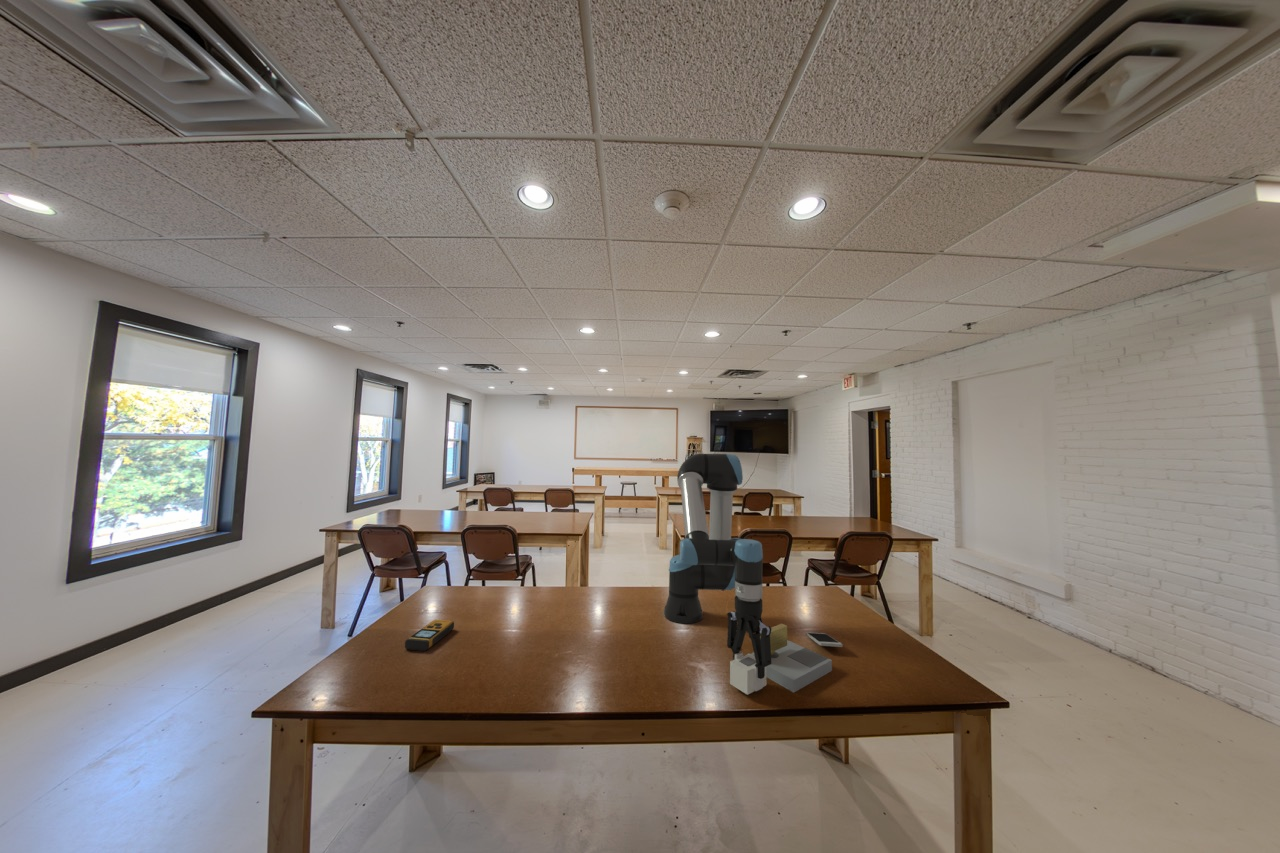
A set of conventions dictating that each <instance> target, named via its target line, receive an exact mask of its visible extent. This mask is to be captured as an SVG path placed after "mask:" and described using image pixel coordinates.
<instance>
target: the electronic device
mask: <svg viewBox="0 0 1280 853" xmlns="http://www.w3.org/2000/svg"><path fill="white" fill-rule="evenodd" d="M454 629H455V621H453V620H443V619H434V620H431V621H430V622H429V623H428V624H427V625H424V626H423V627H422V628H420V630H418V631H417V632H415V633H414V634H412V635H411V636H410V637H409V638H407V639H406V640H405V641H404V648H405V649H406V650H408V651H409V650H410V651H411V650H412V651H420V652H421V651H422V652H426V651H428V650H429V649H430V648H431V647H432V646H434V645H436V644H437V643H438V642H439V641H441V639H442V638H444V637H445V636H447V635H448V634H449V633H450V632H451V631H453V630H454Z"/></svg>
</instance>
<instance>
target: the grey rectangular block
mask: <svg viewBox="0 0 1280 853" xmlns="http://www.w3.org/2000/svg"><path fill="white" fill-rule="evenodd" d="M754 664H756V660H755V656H753V655H751V653H747V654H745V655H744V654H743V656H742V657H740V658H737V659H735V660H733V659H732V660H730V661H729V684H730V685H731V686H732V687H734V688H736V689H738V690H739V691H741V692H742V693H744V694H745V695H747V696H748V695H750V694H753V693H754V692H756V691H755V690H754ZM766 686H767V677H766V667H765V676H764V678H763V688H764V687H766Z"/></svg>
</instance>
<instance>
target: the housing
mask: <svg viewBox="0 0 1280 853" xmlns="http://www.w3.org/2000/svg"><path fill="white" fill-rule="evenodd" d="M750 654H751V655H753V656H755V655H754V651H753V652H750ZM832 671H833V660H832V659H830V658H828V657H826V655H825V656H824V655H822V654H820V653H817V652H816V651H814V650H811V649H808V648H807V647H804V646H801V645H799V644H797V643H796V642H793V641H791V640H788V639H787V646H785V647H783V648H780V649H778V650H776V651H775V654H774V655H771V664H770V665H768V666H766V679H769V680H771V681H772V682H774V683H776V684H778V685H780V686H781V687H783V688H785V689H787V691H790V692H792V693H795V692H798V691H799V690H801V689H803V688H804V687H807V686H808V685H810V684H811V683H814V682H815V681H817V680H818V679H820V678H822V677H823V676H824V677H825V675H827V674H829V673H830V672H832Z"/></svg>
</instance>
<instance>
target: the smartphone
mask: <svg viewBox="0 0 1280 853" xmlns="http://www.w3.org/2000/svg"><path fill="white" fill-rule="evenodd" d="M805 634H806V635H807V637H808V638H810V639H811V640H812V641H814V642H815V643H816V644H817V645H819V646H821V647H836V648H837V647H838V648H843V643H842V642H840V641H838V640H836V639H835V638H834V637H832V636H830V635H829V634H827V633H825V632H810V631H809V632H808V631H806V632H805Z"/></svg>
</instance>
